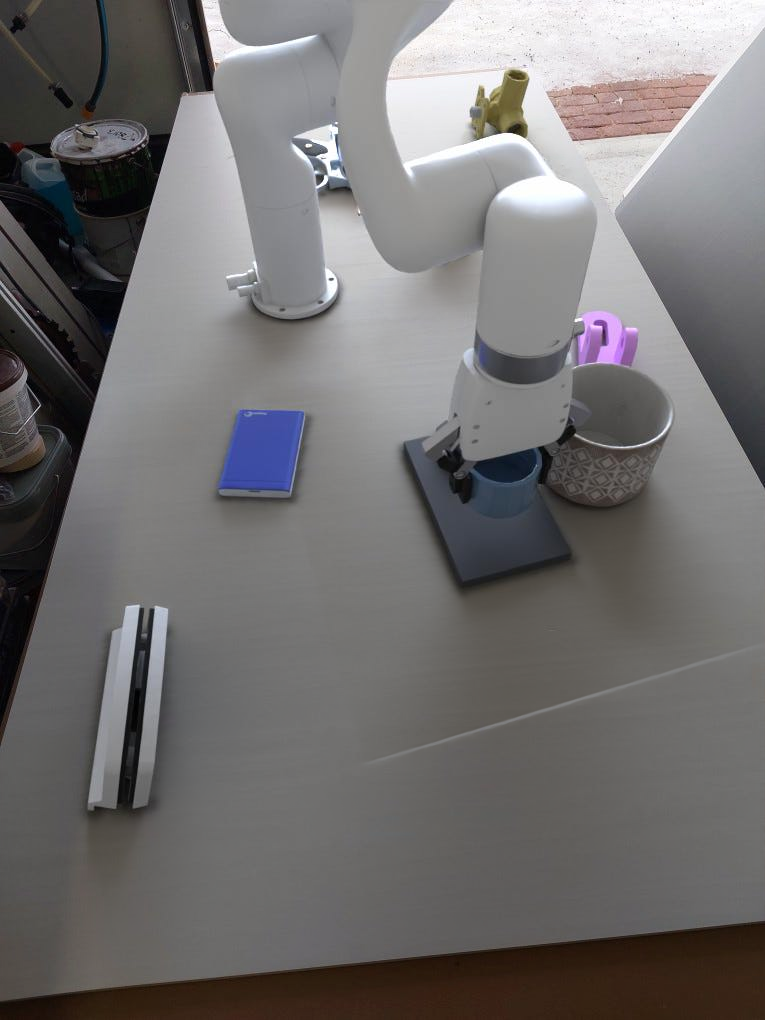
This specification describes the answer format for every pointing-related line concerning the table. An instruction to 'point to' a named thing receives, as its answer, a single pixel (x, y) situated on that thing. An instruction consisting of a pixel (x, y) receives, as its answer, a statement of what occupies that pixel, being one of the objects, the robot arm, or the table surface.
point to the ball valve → (502, 106)
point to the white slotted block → (130, 710)
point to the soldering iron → (326, 160)
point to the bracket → (617, 340)
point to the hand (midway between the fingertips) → (498, 482)
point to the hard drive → (263, 454)
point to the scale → (485, 528)
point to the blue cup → (505, 483)
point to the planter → (612, 435)
